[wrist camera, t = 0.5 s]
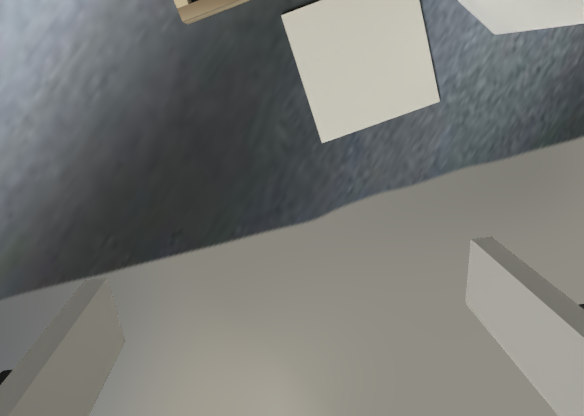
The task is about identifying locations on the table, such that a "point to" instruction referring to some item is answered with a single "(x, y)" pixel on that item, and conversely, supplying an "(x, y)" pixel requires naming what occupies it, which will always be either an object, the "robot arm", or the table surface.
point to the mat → (361, 61)
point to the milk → (525, 14)
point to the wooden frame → (203, 8)
